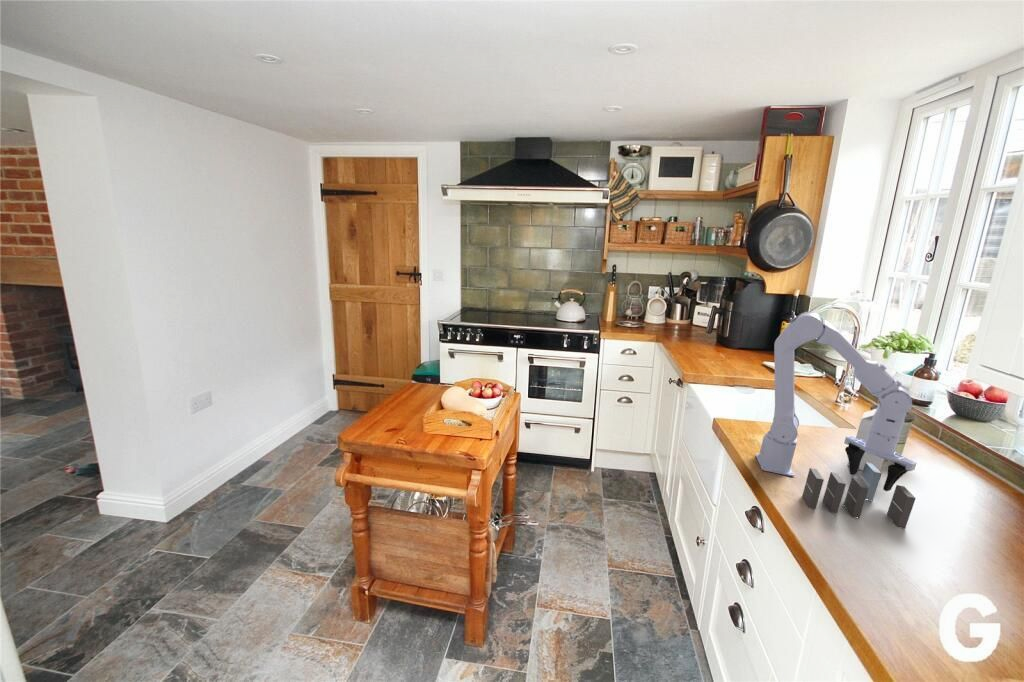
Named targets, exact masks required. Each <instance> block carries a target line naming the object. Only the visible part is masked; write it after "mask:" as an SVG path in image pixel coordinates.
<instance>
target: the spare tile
mask: <svg viewBox="0 0 1024 682" xmlns="http://www.w3.org/2000/svg"><path fill="white" fill-rule="evenodd" d="M881 477H882V472H881V470H880V471H879V470H878V469H877V468H876V467H875V466H874V465H873V464H872V463H865V466H864V469H863V471H862V473H861V476H860V479H861V480H862V481H863V482H864V484H865V485H866V486H867V487H868V488H869V489H868V493H867V496H866V499H868V500H872V501H874V499H875V495H876V492H877V488H878V485H879V483H880V480H881ZM868 500H867V501H868ZM872 501H871V502H872Z"/></svg>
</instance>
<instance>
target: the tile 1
mask: <svg viewBox="0 0 1024 682" xmlns="http://www.w3.org/2000/svg"><path fill="white" fill-rule="evenodd" d="M806 477H807V478H806V480H805V485H804V488H803V492H802V495H801V496H802V499H803V501H804V502H805V504H806V505H807V507H808V508H810V509H813V510H816V509H817V507H818V506H817V505H818V503H819V499H820V495H821V492H822V488H823V484H824V481H825V479H824V478H823V476H822V475H821V473H820V472H819V470H818V469H817V468H812V467H809V470H808V474H807V476H806Z"/></svg>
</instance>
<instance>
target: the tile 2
mask: <svg viewBox="0 0 1024 682" xmlns="http://www.w3.org/2000/svg"><path fill="white" fill-rule="evenodd" d="M846 486H847V484H846V482H845V481H844V480H843V477H841V476H840V474H839V473H837V472H830V473H829V478H828V481H827V485H826V488H825V491H824V495H823V499H822V502H823V503H824V506H826V508H827V510H828V511H829V513H833V514H836V515H837V514H838V512H839V510H840V509H839V508H840V505H841V503H842V502H841V501H842V499H843V496H844V492H845V488H846Z"/></svg>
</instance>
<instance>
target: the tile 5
mask: <svg viewBox="0 0 1024 682" xmlns="http://www.w3.org/2000/svg"><path fill="white" fill-rule="evenodd" d="M915 502H916V497H915V496H914V495H913V494H912V493H911V492H910V490H908V489H907V488H906V487H905V486H904V485H900V484H899V485H898V484H896V486H895V489H894V491H893V494H892V498H891V500H890V504H889V507H888V509H887V513H886V515H887V514H888V515H889V516H890V517H889V516H888V515H887V516H888V517H889V518H891V519H892V520H893V521H892V520H891V519H890V520H891V521H892V522H893V523H894V524H896V525H897V526H896V525H895V526H896V527H897V528H900V527H901V529H906V527H907V525H908V521H909V518H910V517H911V513H912V509H913V507H914V505H915Z"/></svg>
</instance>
